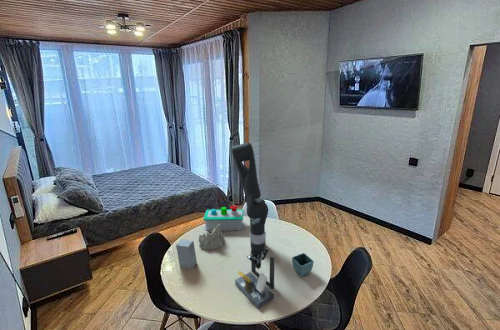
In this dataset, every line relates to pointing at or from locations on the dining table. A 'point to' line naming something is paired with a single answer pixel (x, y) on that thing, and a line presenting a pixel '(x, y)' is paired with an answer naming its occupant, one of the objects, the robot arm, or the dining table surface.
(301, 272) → the flower pot
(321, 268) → the dining table surface
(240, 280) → the strip
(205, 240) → the jagged rock sculpture
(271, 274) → the cable posts
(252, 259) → the robot arm
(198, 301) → the dining table surface
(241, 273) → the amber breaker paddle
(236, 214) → the control panel
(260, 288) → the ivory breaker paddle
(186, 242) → the skincare box
